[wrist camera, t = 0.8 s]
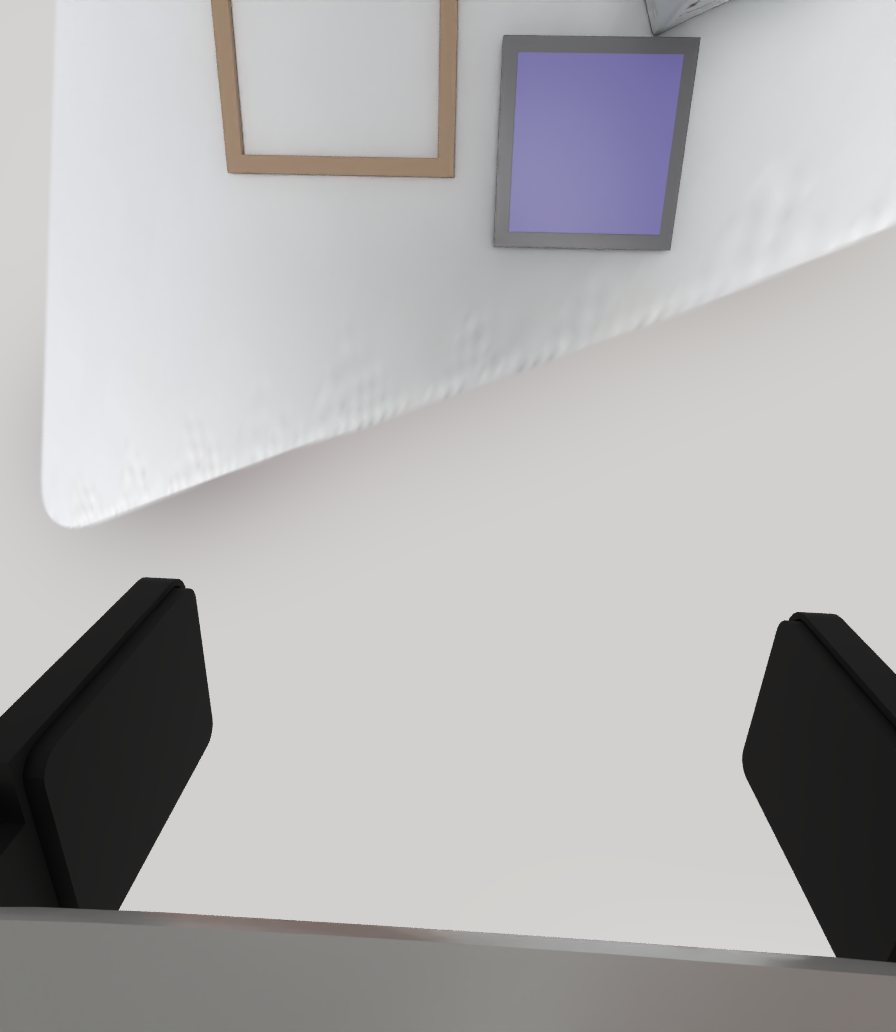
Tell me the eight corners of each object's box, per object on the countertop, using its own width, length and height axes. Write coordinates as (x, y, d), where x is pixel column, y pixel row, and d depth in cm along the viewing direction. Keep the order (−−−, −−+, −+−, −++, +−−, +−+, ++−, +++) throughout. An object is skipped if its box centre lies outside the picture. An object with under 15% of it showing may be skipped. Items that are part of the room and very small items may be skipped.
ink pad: (502, 41, 31) (503, 33, 29) (693, 44, 30) (701, 36, 29) (493, 246, 34) (494, 246, 33) (665, 250, 34) (671, 250, 33)
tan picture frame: (202, -118, 29) (199, -123, 28) (460, -117, 28) (460, -122, 28) (230, 173, 33) (227, 172, 33) (453, 177, 33) (453, 176, 32)
